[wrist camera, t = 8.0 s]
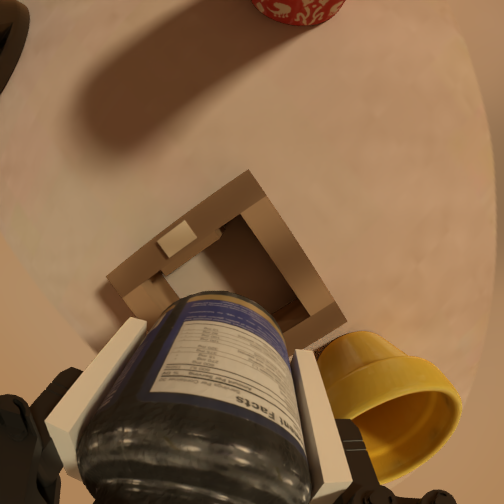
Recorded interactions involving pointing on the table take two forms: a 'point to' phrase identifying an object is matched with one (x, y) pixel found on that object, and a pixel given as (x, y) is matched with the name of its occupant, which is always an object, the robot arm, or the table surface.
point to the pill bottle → (201, 413)
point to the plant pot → (389, 401)
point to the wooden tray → (210, 230)
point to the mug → (299, 10)
